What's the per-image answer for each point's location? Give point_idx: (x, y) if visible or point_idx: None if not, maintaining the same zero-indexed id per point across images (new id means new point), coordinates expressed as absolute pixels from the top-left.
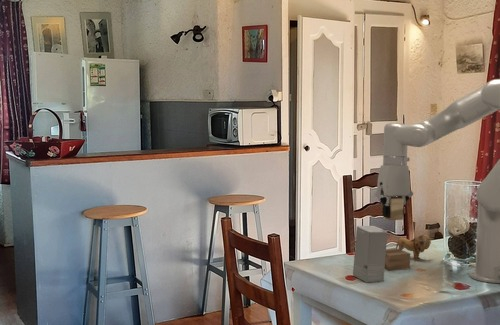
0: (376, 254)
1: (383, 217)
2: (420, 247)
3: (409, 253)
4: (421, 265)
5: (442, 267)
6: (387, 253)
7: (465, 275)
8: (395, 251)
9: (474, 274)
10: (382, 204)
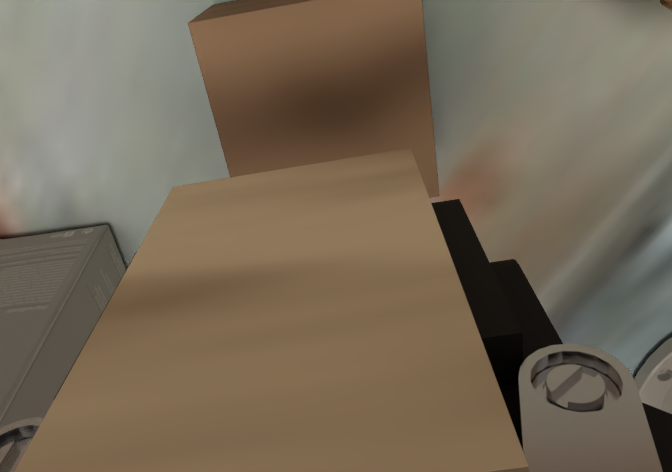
0: None
1: (171, 198)
2: (670, 5)
3: (431, 196)
4: (548, 92)
5: (650, 167)
6: (252, 164)
7: (643, 330)
8: (350, 114)
9: (653, 392)
10: (10, 461)
